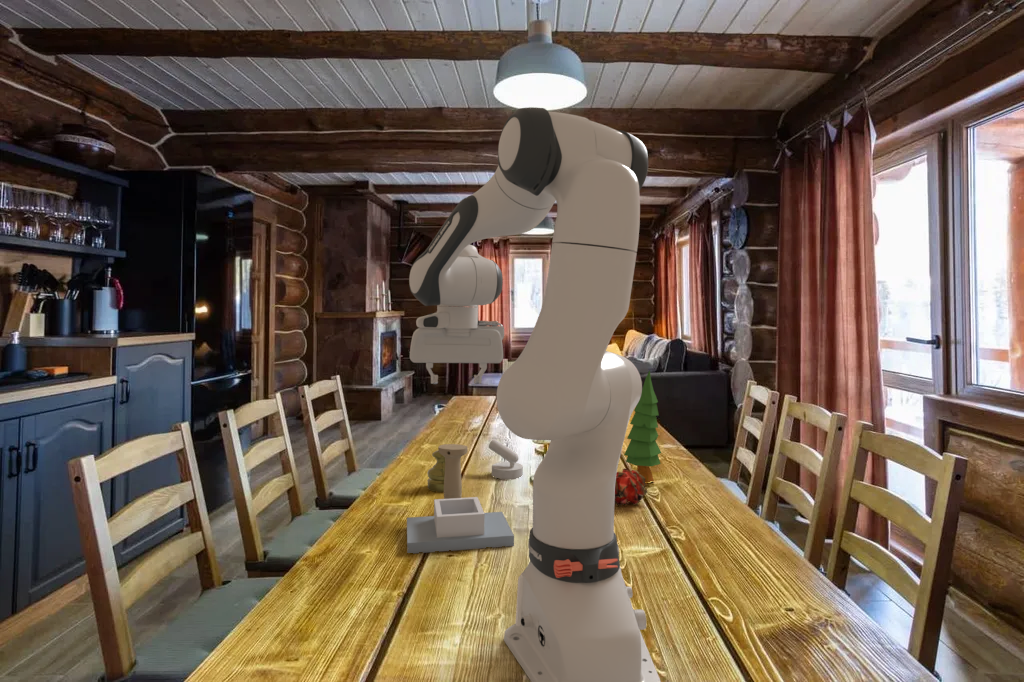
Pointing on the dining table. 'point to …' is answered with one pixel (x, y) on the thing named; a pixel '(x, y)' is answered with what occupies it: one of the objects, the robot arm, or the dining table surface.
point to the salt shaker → (437, 473)
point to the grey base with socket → (458, 527)
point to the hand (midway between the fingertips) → (456, 383)
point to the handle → (452, 469)
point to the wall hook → (505, 468)
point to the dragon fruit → (629, 487)
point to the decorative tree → (644, 433)
